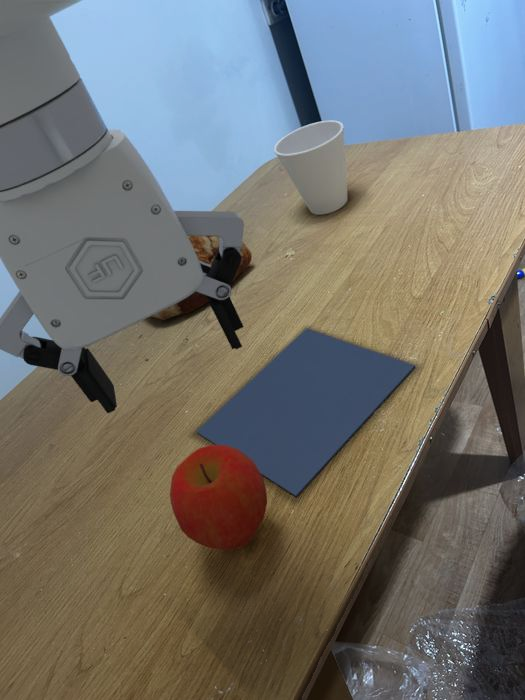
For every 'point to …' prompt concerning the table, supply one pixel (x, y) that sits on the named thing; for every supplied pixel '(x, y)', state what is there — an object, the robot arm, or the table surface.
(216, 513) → the apple
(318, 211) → the cup
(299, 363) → the napkin
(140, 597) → the table surface
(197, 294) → the bread
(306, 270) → the table surface
